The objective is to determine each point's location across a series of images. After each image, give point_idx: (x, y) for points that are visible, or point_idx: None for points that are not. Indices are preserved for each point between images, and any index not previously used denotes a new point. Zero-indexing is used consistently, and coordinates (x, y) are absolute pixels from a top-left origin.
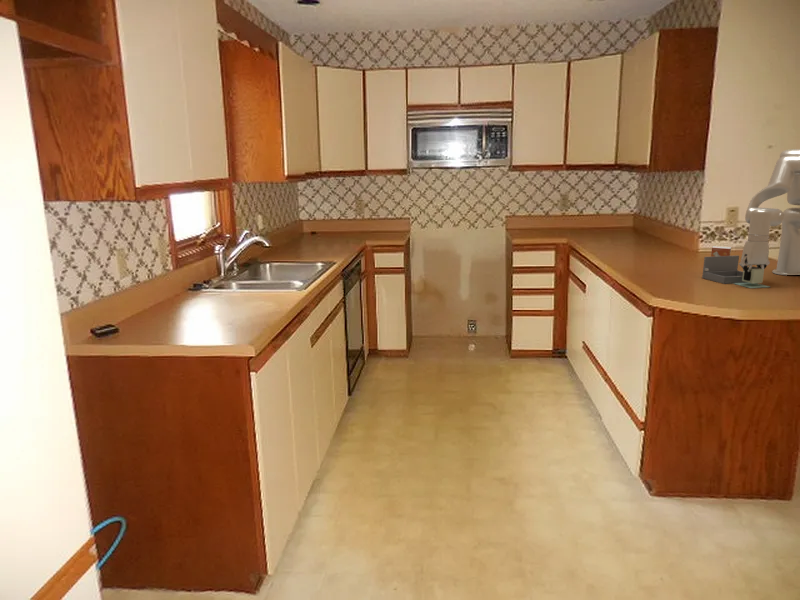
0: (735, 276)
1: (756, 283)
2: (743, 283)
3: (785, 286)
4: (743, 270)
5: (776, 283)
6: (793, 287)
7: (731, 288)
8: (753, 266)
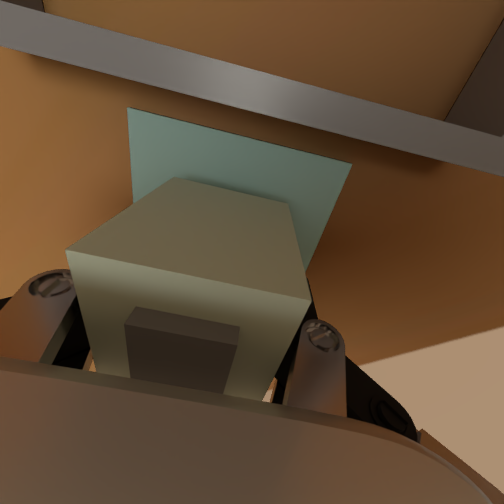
0: (142, 64)
1: (317, 218)
2: (214, 166)
3: (395, 331)
4: (106, 224)
5: (480, 264)
6: (396, 355)
7: (7, 229)
8: (233, 351)
